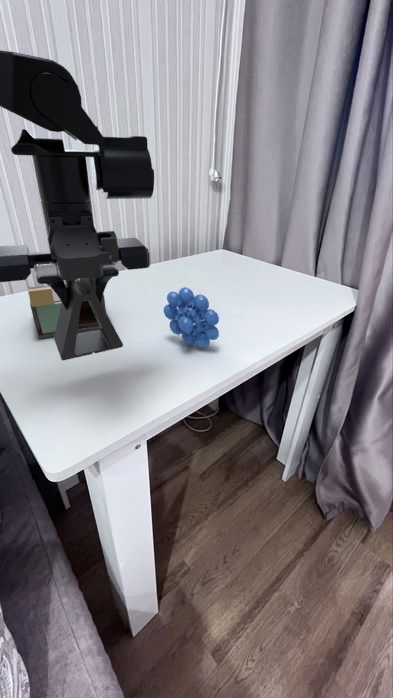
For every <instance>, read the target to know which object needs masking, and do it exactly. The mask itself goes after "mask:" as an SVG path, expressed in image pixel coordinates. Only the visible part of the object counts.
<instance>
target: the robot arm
mask: <svg viewBox="0 0 393 698" xmlns="http://www.w3.org/2000/svg"><path fill="white" fill-rule="evenodd" d="M82 105H83V103H82V95H81V92H80V88H79V86H78V84H77V82H76V80H75V78H74V76H72V74H71V72H70V71H69V70H68V69H67V68H66V67H64V66H63V65H62V64H59V62H57V61H56V60H53V59H50V58H45V57H40V56H36V55H35V56H34V55H30V54H26V53H20V52H15V51H9V50H8V51H7V50H0V108H2V109H5V110H6V111H8V112H10V113H12V114H13V115H16V116H18V117H19V118H22V119H24V120H25V121H27V122H30V123H31V124H34V125H36V126H37V127H40V128H41V129H43V130H46V131H50V132H54V133H55V132H56V133H62V132H64V133H65V134H66V135H68V136H69V137H70V138H72V139H73V140H75V141H76V142H78V143H80V144H84V145H93V150H85V149H84V150H81V149H79V150H78V149H65V144H64V140H63V138H54V137H53V138H52V137H51V138H50V137H34V136H33V135H32V134H31V133H30V132H29V130H28V129H26V128H22V129H21V133H20V136H19V138H18V140H17V142H16V143H15V144H14V145H13V146H11V148H10V150H11V153H12V155H15V156H30V157H31V159H32V165H33V168H34V173H35V179H36V184H37V189H38V194H39V200H40V204H41V210H42V215H43V220H44V221H43V222H44V225H45V231H46V235H47V242H48V248H49V251H35V252H30V250H29V246H28V244H16V245H15V244H14V245H0V283H9V282H19V281H27V279H28V278H29V277H30V275H31V274H32V270H31V269H33V270H34V273H36V282H37V283H38V284H39V285H46V286H47V285H49V286H50V287H51V288H52V289H53V290H54V292H55V293H56V294H57V295H58V297H59V298H60V300H61V301H62V303H63V305H64V307H65V308H66V310H67V308H68V305H69V301H70V299H69V296H68V292H67V289H66V286H65V283H66V282H65V280H66V281H74V280H75V279H79V280H80V279H81V278H92V279H94V281H95V284H96V295H97V297H98V299H99V301H100V303H101V301H102V297H103V294H104V293H105V290H106V287H107V286H108V283H109V281H110V280H111V279H112V278H115V277H118V276H119V274H120V272H119V270H118V268H117V265H118V262H120V264H121V265H122V266H123V267H124V268H125V269H127V270H129V271H130V270H131V271H132V270H140V269H148V268H150V266H151V262H150V261H151V259H150V252H149V249H148V248H147V246H145V244H143V243H142V242H141V240H139V239H138V238H137V237H125V238H118V237H117V234H116V232H115V231H114V230H109V231H107V230H106V231H97V229H96V227H95V221H94V213H93V204H92V197H91V188H90V181H89V179H90V178H89V173H88V164H87V163H88V162H87V158H90V164H91V165H90V166H91V174H92V181H93V182H92V183H93V185H94V189H95V191H102V193H103V196H104V199H106V200H135V199H137V200H138V199H142V200H143V199H152V197H153V194H154V189H155V168H153V165H152V157H151V153H150V151H149V147H148V146H149V145H148V137H146V136H143V135H142V136H141V135H130V136H128V137H127V136H126V137H124V136H123V137H122V136H104V135H102V132H101V131H100V129H99V126H97V125H95V123H94V122H93V120H92V119H91V117H90V116H89V114H88V113H87V112H86V110H85V109H84V108H83V106H82ZM94 314H95V316H96V313H95V311H94Z"/></svg>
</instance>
